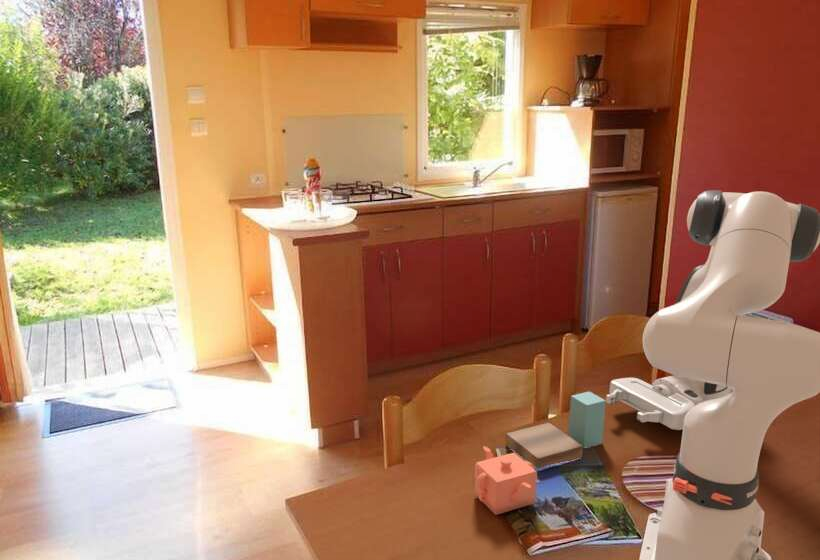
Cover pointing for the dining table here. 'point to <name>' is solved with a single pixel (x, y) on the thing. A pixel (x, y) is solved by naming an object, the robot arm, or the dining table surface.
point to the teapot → (505, 482)
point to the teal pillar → (586, 419)
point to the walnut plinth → (543, 445)
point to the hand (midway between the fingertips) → (623, 408)
